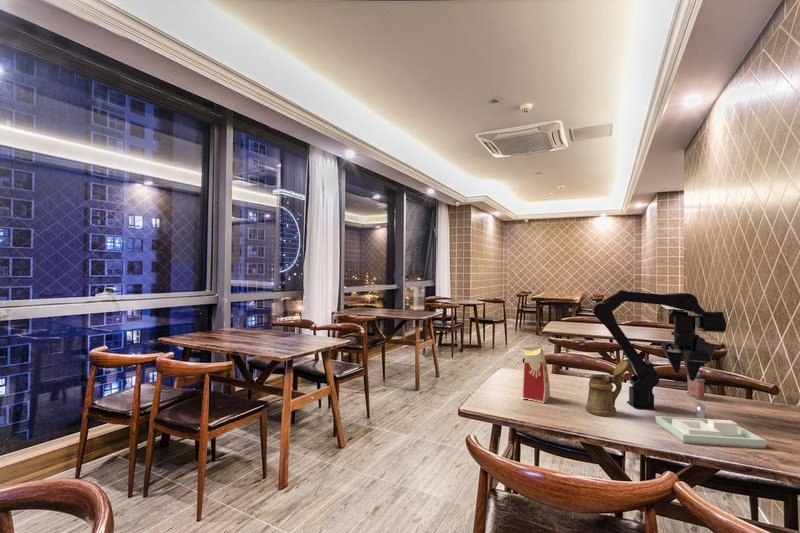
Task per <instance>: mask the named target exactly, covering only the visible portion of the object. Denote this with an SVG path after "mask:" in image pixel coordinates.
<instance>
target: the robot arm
mask: <svg viewBox="0 0 800 533" xmlns="http://www.w3.org/2000/svg"><path fill="white" fill-rule="evenodd" d="M624 302H630V303H641V304H648V305H649V304H650V305H661V306H666V307H670V308H672V309H671V310H670V311H669V312H667V313H666V315H667V316H669V317H673V319H674V320H673V331H671V332H670V334H671V336H673V341H665V340H664V341H663V342H661V344H660V346H661V347H660V349H661V350H662V351H663V353H664V355H665V357H666V358H667V359H668V361H669V363H670V366H671V368H672V369H673V371H674V373H675V374H679V373H680V369H681V363H682V360H683V364H684V366H685V370H686V374H688V376H689V379H690V380H692V381H694V380H695V378H696V376H697V373H698V371H699V372H700V369H701V368H702V366H703V365H705V364H708V363H711V362H712V355H715V351H716V348H717V347H718V346H717V344H714V343H710V342H708V341H706V339H705V338H704V337H701V336H700V335H699V334H698V333H697V332H696V331H697V330H696V328H697V329H699V330H700V331H701V332H707V333H709V332H710V333H723V334H724V333H726V331H727V323H728V322H726V317H725V316H724V312H723V311H717V310H715V311H705V310H704V309H703V308H702V307H701V306H700V304H699V300H698V298H697V296H695V295H694V294H691V293H687V292H671V293H653V292H640V291H639V292H638V291H629V290H628V291H627V290H622V289H619V290H617V291H615V293H613V294H612V295H610V296H609V297H607V298H605V299H603V301H599V302H596V303H594V304H593V305H592V307H591V312H592V313H593V315H594V316H595V317H596V318H597V320H599V321H600V322H601V324H603V325H604V327H605V328H606V330H608V331H609V333H610V334H611V337H613V339H614V340H615V342H616V343H617V344H618V346H619V347H620V349H621V350H622V352H623V353H624V355H625V356H626V357H627V359H629V361H630V364H631V367H632V369H633V372H634V374H633V375H632V376H631V377H629V378H628V380H629V383H630V385H631V386H628V400H627V401H626V403H627V404H628V405H630V406H631V407H632V408H634V409H637V410H638V409H639V410H642V409H643V410H656V407H655V394H654V393H653V392H654V391H653V389H654V387H656V386H658V385H659V383H660V377H659V375H660V373H659V372H658V371H657V369H656V368H655V367H654V365H653V364H652V362H651V361H650V360H649V359H646V360H644V359H643V358H642V357H641V355H640V353H638V351H637V350H636V348H635V347H634V346H633V344H632V343H631V341H630V340H629V339H628V337H627V336H626V334H625V333H624V331H623V330H622V329H621V327H620V325H619V324H618V322H617V319H616V317H615V315H614V313H613V311H614V310H616V309H617V308H618V307H619V306H621V305H622V304H623V303H624ZM676 309H678V310H682V311H678V310H676ZM689 313H692V314H689Z"/></svg>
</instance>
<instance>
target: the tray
mask: <svg viewBox="0 0 800 533" xmlns="http://www.w3.org/2000/svg"><path fill="white" fill-rule="evenodd" d="M672 419H684V420H701V421H703V422H705V423H706V424H708V419H709V418H706V419H699V418H696V417H695V418H694V417H680V416H679V417H678V416H677V417H676V416H665V415H664V416H660V415H659V416H658V415H655V425H657V426H659V427H660V428H662V429H663V430H664V431H666V432H667V433H669V434H670V435H671V436H673V437H674V438H676V439H677V440H679V442H681V443H682V444H691V445H702V444H703V445H705V446H718V445H720V446H721V447H733V446H734V447H736V448H750V449H763V450H765V449H767V440H766V439H765V438H762V437H760V436H758V435H756V434H755V433H753V432H751V431H749V430H747V429H745V428H743V427H741V426H739V425H738V424H737V427H738V436H723V435H721V436H708V435H692V434H684V433H682V432H681V431H680V430H678V429H677V428H675V427H674V426H672ZM714 419H715V418H714ZM715 420H717V419H715ZM720 446H719V447H720Z"/></svg>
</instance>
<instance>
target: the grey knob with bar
mask: <svg viewBox="0 0 800 533" xmlns="http://www.w3.org/2000/svg"><path fill="white" fill-rule="evenodd" d="M694 405H695V411H696V413H695V415H696V416H695V418H699V419H707V405H705V404H704V403H702V402H701V401H694Z"/></svg>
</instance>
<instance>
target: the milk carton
mask: <svg viewBox="0 0 800 533" xmlns="http://www.w3.org/2000/svg"><path fill="white" fill-rule="evenodd" d="M521 348H522V349H523V353H524V363H523V366H524V367H523V383H522V384H523V386H522V394H521V396H522V395H523V398H526V399H532V400H536V401H540V402H543V403H544V402H545V401H546V400H547V399H548V398H549V397H550V398H551V389H550V388H551V387H550V378H549V371H548V365H547V361H546V358H545V354H544V350H543V344H539V345H533V346H522V347H521ZM523 398H522V399H523ZM550 398H549V399H550ZM549 399H548V400H549ZM548 400H547V401H548ZM547 401H546V402H547ZM546 402H545V403H546ZM543 403H542V404H543ZM545 403H544V404H545Z"/></svg>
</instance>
